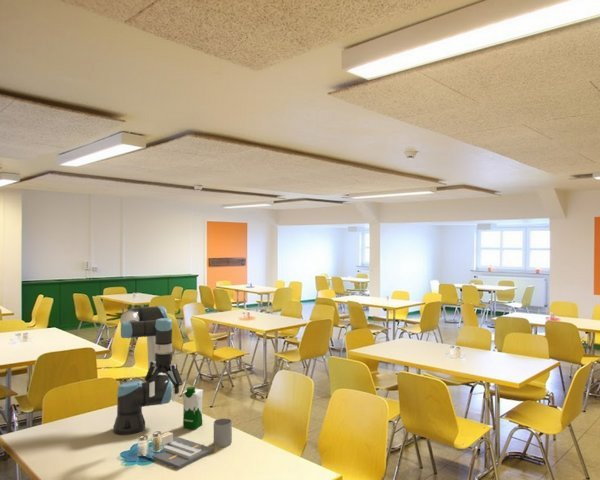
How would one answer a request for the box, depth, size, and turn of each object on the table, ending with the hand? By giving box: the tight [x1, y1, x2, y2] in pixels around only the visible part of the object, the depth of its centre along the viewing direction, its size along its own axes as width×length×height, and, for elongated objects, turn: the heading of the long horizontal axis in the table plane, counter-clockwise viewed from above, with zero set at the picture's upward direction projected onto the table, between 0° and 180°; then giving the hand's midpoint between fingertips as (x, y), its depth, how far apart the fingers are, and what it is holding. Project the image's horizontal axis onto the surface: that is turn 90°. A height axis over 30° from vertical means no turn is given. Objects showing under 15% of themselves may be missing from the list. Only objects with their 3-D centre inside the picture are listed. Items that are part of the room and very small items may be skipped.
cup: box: [213, 418, 233, 448], centre depth 217 cm, size 8×8×10 cm
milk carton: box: [182, 386, 204, 431], centre depth 238 cm, size 9×9×20 cm
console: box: [152, 436, 215, 470], centre depth 206 cm, size 24×20×3 cm
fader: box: [160, 431, 174, 445], centre depth 210 cm, size 3×6×5 cm, turn 146°
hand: (163, 398), depth 216 cm, fingers open, 13 cm apart
